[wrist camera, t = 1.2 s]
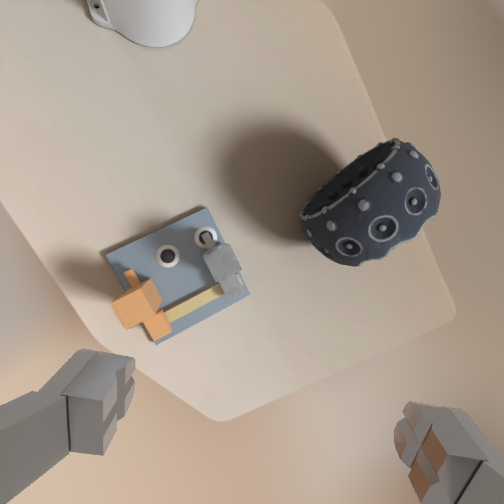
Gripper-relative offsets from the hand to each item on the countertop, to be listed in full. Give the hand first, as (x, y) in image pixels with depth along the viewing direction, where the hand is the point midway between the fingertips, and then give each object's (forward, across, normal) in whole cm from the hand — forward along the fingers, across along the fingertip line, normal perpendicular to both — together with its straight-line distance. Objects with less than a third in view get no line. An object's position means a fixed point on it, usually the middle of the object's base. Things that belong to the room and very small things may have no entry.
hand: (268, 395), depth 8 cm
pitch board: (+38, +12, +15) cm, 42 cm away
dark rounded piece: (+48, -14, +1) cm, 50 cm away
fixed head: (+39, +6, +12) cm, 41 cm away
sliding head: (+34, +16, +18) cm, 42 cm away
